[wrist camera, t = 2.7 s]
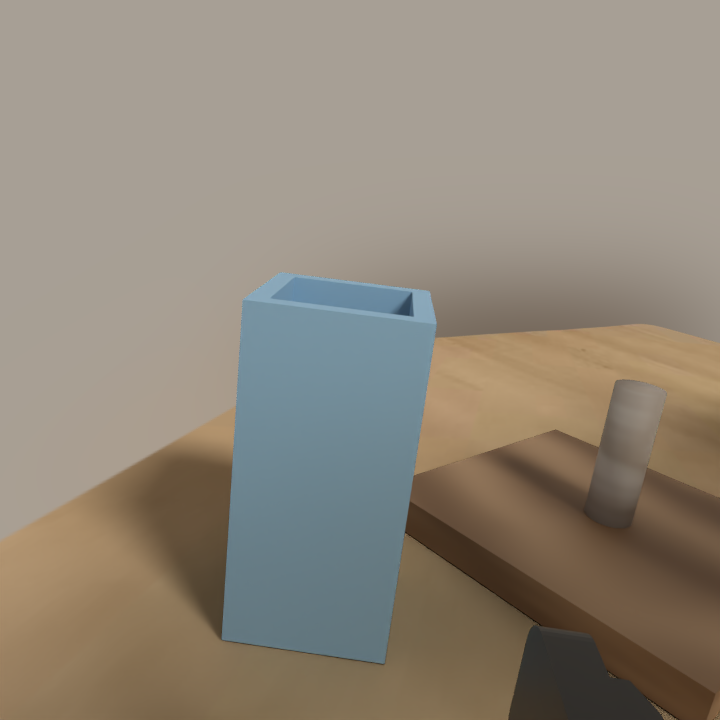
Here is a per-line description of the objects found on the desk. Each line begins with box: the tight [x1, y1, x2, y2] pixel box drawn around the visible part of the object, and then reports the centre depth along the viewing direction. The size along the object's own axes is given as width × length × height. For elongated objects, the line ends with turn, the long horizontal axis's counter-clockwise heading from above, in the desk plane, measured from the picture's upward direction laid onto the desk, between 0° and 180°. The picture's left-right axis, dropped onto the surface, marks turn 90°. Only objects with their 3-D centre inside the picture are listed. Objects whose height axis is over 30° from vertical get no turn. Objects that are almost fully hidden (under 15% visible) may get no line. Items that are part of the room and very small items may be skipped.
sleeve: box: [222, 272, 437, 664], centre depth 20 cm, size 5×5×11 cm
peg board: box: [405, 380, 720, 720], centre depth 27 cm, size 14×14×8 cm
